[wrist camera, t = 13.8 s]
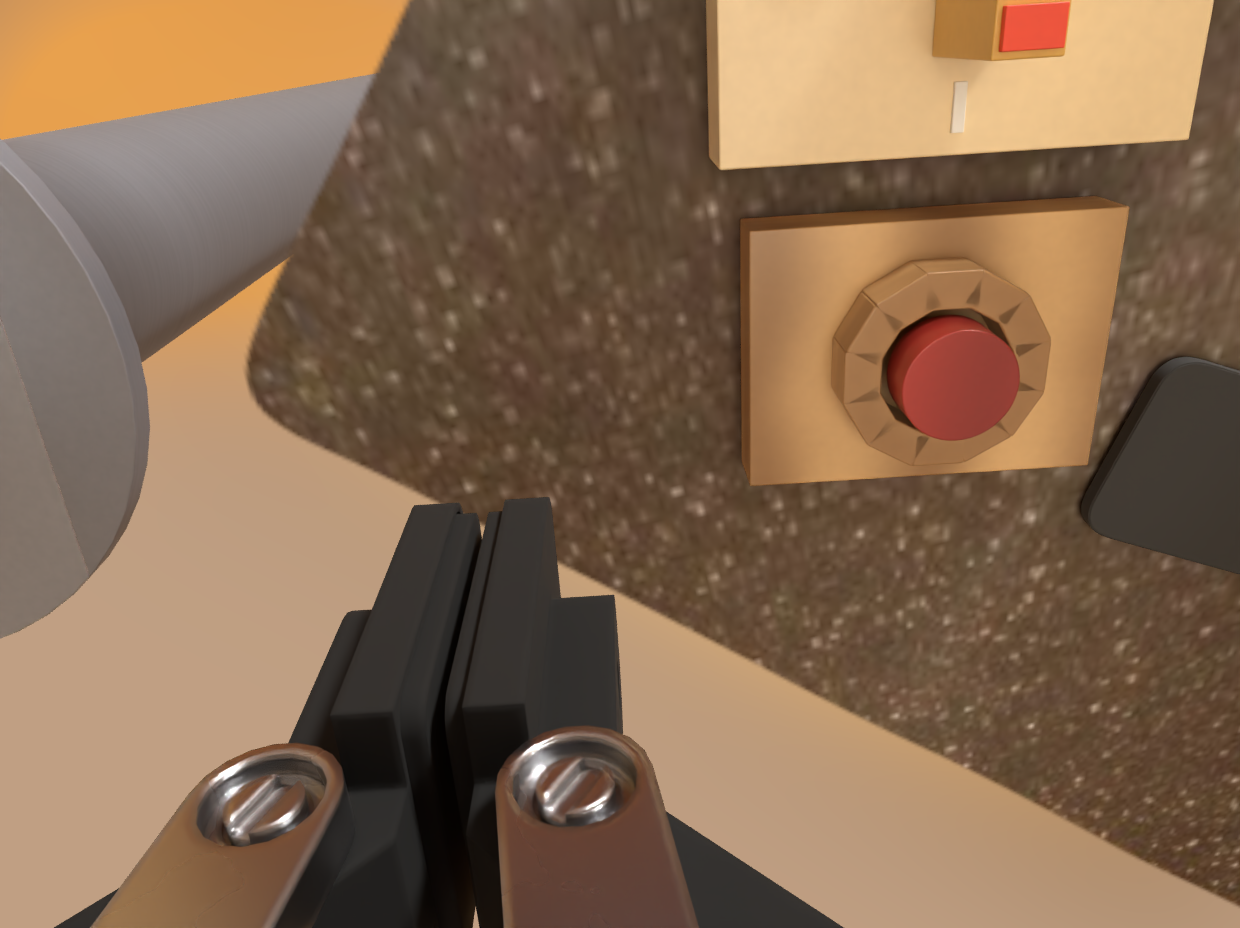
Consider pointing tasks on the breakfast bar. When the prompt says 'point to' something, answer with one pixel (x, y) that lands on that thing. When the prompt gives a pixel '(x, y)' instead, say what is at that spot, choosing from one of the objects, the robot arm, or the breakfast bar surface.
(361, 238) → the breakfast bar surface
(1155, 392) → the phone
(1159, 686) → the breakfast bar surface
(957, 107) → the dial plate
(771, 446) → the wooden button base
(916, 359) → the bell button
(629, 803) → the robot arm
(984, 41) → the red-tipped yellow block
